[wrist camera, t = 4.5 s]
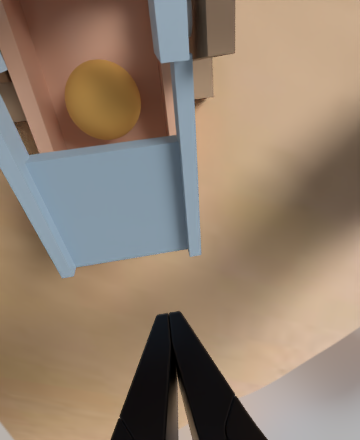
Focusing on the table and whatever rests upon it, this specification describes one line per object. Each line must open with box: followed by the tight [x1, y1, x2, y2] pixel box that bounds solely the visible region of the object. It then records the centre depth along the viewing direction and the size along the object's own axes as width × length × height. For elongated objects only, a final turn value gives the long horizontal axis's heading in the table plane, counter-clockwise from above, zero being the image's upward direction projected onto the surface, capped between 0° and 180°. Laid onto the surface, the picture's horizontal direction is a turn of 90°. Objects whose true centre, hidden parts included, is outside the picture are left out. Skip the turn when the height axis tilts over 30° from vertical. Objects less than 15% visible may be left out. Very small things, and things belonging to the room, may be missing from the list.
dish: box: [0, 0, 176, 153], centre depth 13 cm, size 10×7×3 cm
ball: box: [65, 59, 141, 140], centre depth 13 cm, size 4×4×4 cm
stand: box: [0, 0, 235, 122], centre depth 10 cm, size 6×11×8 cm, turn 96°
